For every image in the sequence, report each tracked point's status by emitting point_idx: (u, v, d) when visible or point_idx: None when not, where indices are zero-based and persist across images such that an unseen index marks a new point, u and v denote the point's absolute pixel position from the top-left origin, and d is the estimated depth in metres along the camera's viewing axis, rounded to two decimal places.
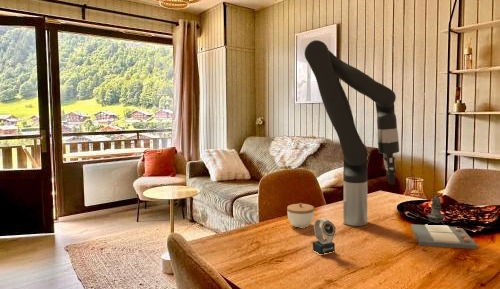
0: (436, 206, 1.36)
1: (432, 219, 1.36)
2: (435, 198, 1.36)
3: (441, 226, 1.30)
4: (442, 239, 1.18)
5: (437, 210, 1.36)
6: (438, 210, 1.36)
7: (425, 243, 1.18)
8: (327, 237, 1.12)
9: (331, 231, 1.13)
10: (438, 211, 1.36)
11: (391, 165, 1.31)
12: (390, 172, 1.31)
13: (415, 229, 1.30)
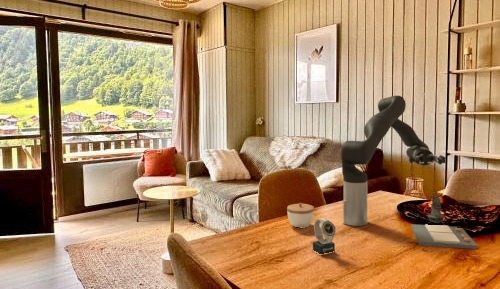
0: (436, 206, 1.36)
1: (432, 219, 1.36)
2: (435, 198, 1.36)
3: (441, 226, 1.30)
4: (442, 239, 1.18)
5: (437, 210, 1.36)
6: (438, 210, 1.36)
7: (425, 243, 1.18)
8: (327, 237, 1.12)
9: (331, 231, 1.13)
10: (438, 211, 1.36)
11: None
12: None
13: (415, 229, 1.30)
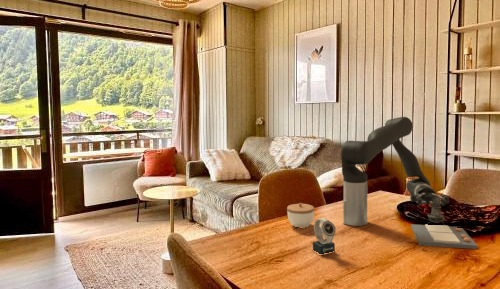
0: (436, 206, 1.36)
1: (432, 219, 1.36)
2: (435, 198, 1.36)
3: (441, 226, 1.30)
4: (442, 239, 1.18)
5: (437, 210, 1.36)
6: (438, 210, 1.36)
7: (425, 243, 1.18)
8: (327, 237, 1.12)
9: (331, 231, 1.13)
10: (438, 211, 1.36)
11: None
12: (448, 199, 1.46)
13: (415, 229, 1.30)
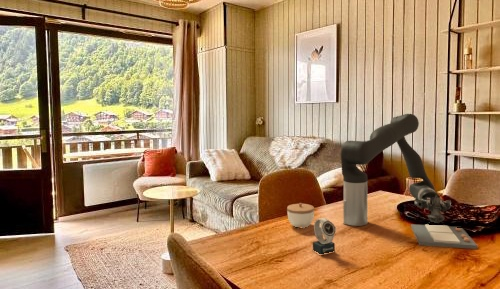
0: (436, 206, 1.36)
1: (432, 219, 1.36)
2: (435, 198, 1.36)
3: (441, 226, 1.30)
4: (442, 239, 1.18)
5: (437, 210, 1.36)
6: (438, 210, 1.36)
7: (425, 243, 1.18)
8: (327, 237, 1.12)
9: (331, 231, 1.13)
10: (438, 211, 1.36)
11: (450, 204, 1.40)
12: (448, 205, 1.38)
13: (415, 229, 1.30)
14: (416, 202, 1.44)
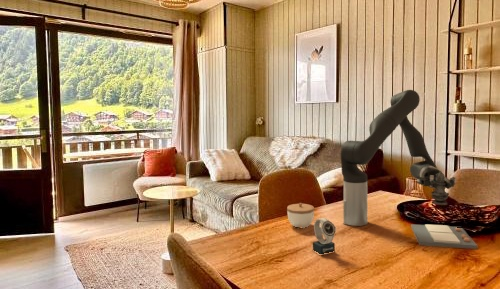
0: (440, 183, 1.27)
1: (436, 197, 1.28)
2: (439, 174, 1.28)
3: (441, 226, 1.30)
4: (442, 239, 1.18)
5: (442, 187, 1.28)
6: (442, 187, 1.28)
7: (425, 243, 1.18)
8: (327, 237, 1.12)
9: (331, 231, 1.13)
10: (443, 189, 1.28)
11: (454, 182, 1.31)
12: (453, 182, 1.29)
13: (415, 229, 1.30)
14: (418, 180, 1.36)
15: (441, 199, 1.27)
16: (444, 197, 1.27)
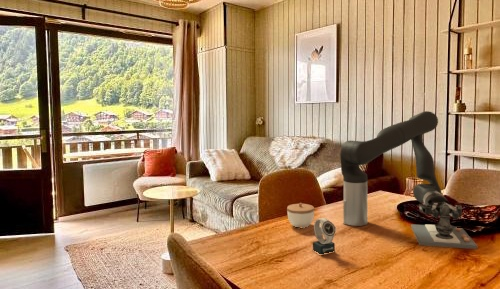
0: (445, 215, 1.19)
1: (440, 230, 1.19)
2: (443, 206, 1.19)
3: None
4: (442, 239, 1.18)
5: (446, 219, 1.19)
6: (447, 220, 1.19)
7: (425, 243, 1.18)
8: (327, 237, 1.12)
9: (331, 231, 1.13)
10: (447, 221, 1.19)
11: None
12: (461, 211, 1.20)
13: (415, 229, 1.30)
14: (421, 207, 1.27)
15: (446, 233, 1.19)
16: (449, 231, 1.18)
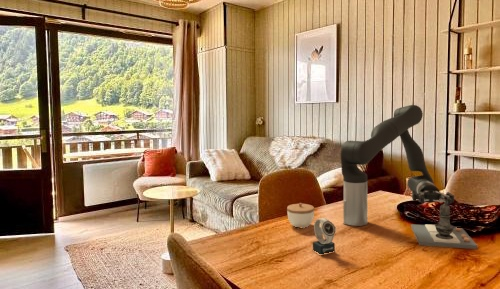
0: (445, 216, 1.19)
1: (440, 230, 1.19)
2: (444, 206, 1.19)
3: None
4: (442, 239, 1.18)
5: (446, 219, 1.19)
6: (447, 220, 1.19)
7: (425, 243, 1.18)
8: (327, 237, 1.12)
9: (331, 231, 1.13)
10: (447, 222, 1.19)
11: None
12: (453, 197, 1.34)
13: (415, 229, 1.30)
14: (412, 194, 1.41)
15: (446, 233, 1.18)
16: (449, 231, 1.18)
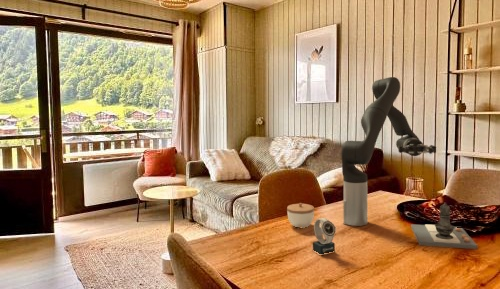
0: (445, 216, 1.19)
1: (440, 230, 1.19)
2: (444, 206, 1.19)
3: None
4: (442, 239, 1.18)
5: (446, 219, 1.19)
6: (447, 220, 1.19)
7: (425, 243, 1.18)
8: (327, 237, 1.12)
9: (331, 231, 1.13)
10: (448, 222, 1.19)
11: None
12: (435, 148, 1.46)
13: (415, 229, 1.30)
14: (398, 148, 1.54)
15: (446, 233, 1.18)
16: (449, 231, 1.18)
